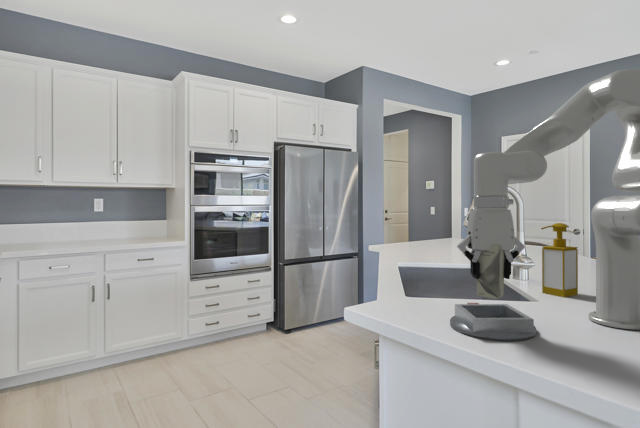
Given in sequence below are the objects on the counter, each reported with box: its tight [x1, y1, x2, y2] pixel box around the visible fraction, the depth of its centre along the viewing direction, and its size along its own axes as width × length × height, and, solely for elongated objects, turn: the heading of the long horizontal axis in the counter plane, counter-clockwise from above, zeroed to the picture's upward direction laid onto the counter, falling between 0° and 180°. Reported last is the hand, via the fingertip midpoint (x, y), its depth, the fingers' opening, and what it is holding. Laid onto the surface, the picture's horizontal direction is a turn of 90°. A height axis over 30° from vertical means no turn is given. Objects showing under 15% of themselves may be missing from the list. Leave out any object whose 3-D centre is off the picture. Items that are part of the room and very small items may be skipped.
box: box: [476, 245, 505, 300], centre depth 92 cm, size 5×4×13 cm
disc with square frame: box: [449, 302, 537, 342], centre depth 94 cm, size 19×22×4 cm
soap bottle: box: [541, 222, 579, 298], centre depth 125 cm, size 7×13×24 cm, turn 115°
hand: (490, 277), depth 92 cm, fingers closed on box, 6 cm apart
